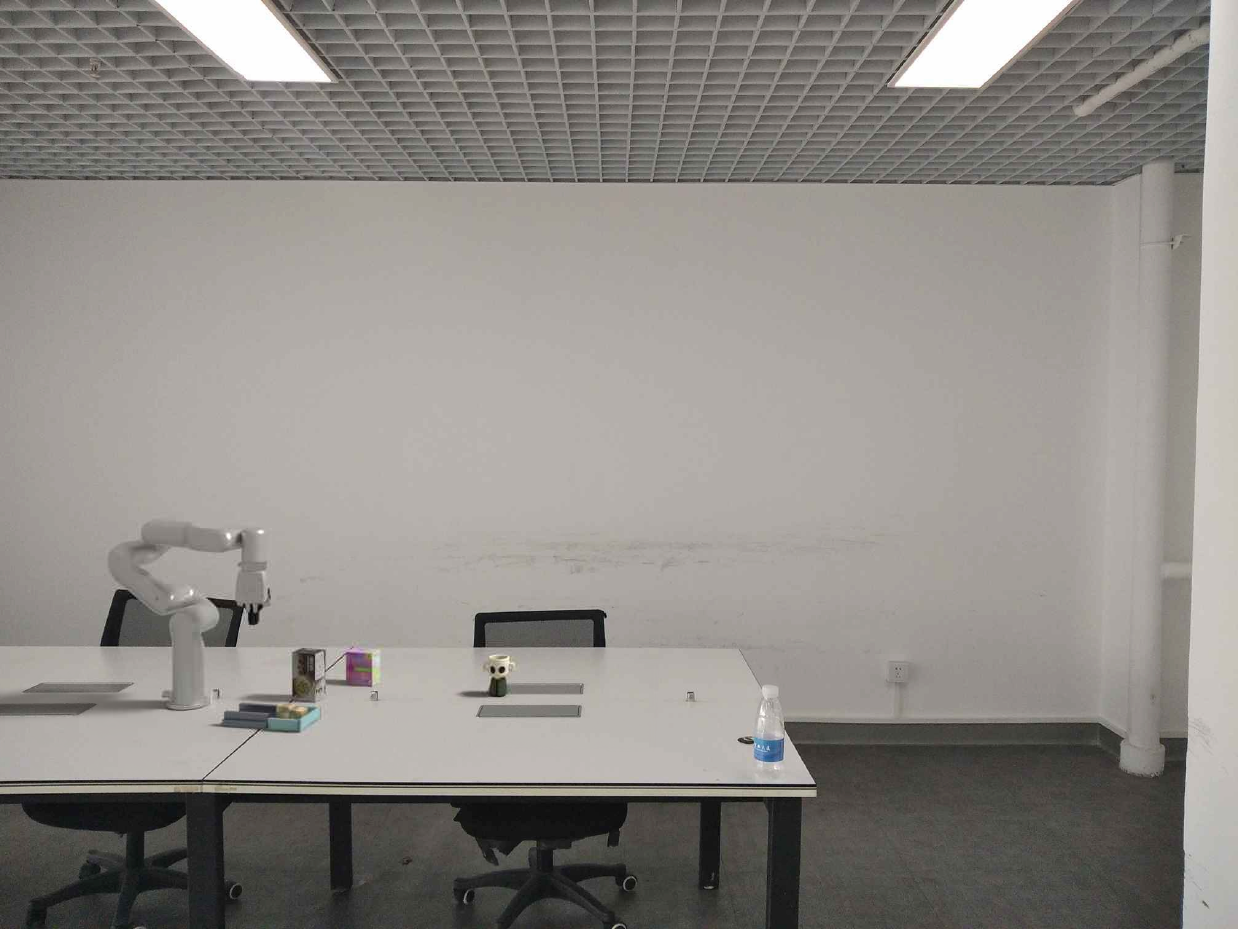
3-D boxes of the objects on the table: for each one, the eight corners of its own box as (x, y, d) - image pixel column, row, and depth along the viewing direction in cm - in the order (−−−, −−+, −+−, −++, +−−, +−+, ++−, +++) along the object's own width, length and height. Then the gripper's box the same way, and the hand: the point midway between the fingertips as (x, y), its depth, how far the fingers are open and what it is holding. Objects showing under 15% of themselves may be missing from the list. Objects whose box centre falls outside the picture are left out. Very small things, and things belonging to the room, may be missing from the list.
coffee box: (326, 697, 314) (326, 649, 314) (315, 702, 308) (315, 653, 307) (302, 694, 317) (302, 647, 316) (290, 700, 310) (291, 651, 310)
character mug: (480, 697, 318) (480, 659, 318) (484, 691, 325) (485, 654, 325) (512, 698, 318) (512, 660, 317) (515, 692, 325) (516, 655, 324)
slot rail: (222, 726, 282) (222, 713, 282) (243, 714, 294) (243, 701, 294) (266, 729, 280) (266, 715, 280) (285, 717, 292) (285, 704, 292)
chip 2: (289, 710, 283) (301, 711, 283) (295, 706, 287) (307, 707, 287) (288, 723, 284) (300, 724, 283) (294, 719, 288) (306, 720, 287)
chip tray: (267, 730, 279) (267, 718, 279) (290, 716, 293) (290, 705, 293) (299, 732, 278) (299, 720, 278) (320, 718, 292) (320, 707, 292)
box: (345, 684, 330) (345, 651, 330) (353, 680, 336) (354, 647, 335) (372, 687, 328) (372, 653, 327) (380, 682, 333) (380, 649, 333)
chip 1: (275, 719, 284) (276, 705, 284) (282, 715, 288) (283, 702, 288) (288, 720, 284) (289, 707, 283) (294, 716, 288) (295, 703, 287)
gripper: (225, 567, 295) (225, 625, 296) (270, 569, 294) (269, 628, 294) (238, 564, 303) (237, 621, 304) (282, 566, 301) (281, 623, 302)
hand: (253, 624), depth 299 cm, fingers closed
